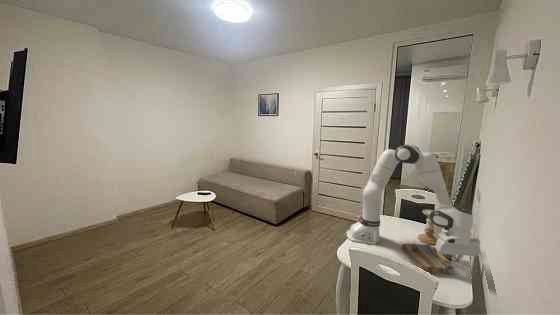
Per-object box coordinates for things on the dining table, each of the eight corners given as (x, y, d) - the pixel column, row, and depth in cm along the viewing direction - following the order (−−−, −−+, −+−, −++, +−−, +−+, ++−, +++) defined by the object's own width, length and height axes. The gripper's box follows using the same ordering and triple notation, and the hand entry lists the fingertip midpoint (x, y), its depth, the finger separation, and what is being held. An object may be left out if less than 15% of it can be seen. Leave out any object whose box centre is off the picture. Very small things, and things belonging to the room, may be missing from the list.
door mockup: (421, 273, 114) (422, 262, 113) (402, 249, 135) (402, 239, 134) (453, 275, 112) (455, 264, 111) (428, 250, 134) (429, 241, 133)
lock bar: (430, 252, 125) (430, 247, 125) (435, 252, 125) (436, 247, 124) (444, 266, 112) (445, 261, 112) (450, 266, 112) (451, 261, 112)
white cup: (442, 239, 148) (444, 225, 146) (428, 235, 152) (430, 222, 150) (441, 234, 154) (442, 221, 153) (428, 231, 158) (429, 218, 157)
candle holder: (443, 246, 139) (447, 217, 136) (422, 244, 141) (425, 215, 138) (433, 236, 151) (437, 209, 148) (414, 234, 153) (417, 208, 150)
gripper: (475, 235, 115) (471, 258, 118) (435, 233, 117) (432, 256, 120) (485, 241, 109) (481, 266, 111) (442, 239, 111) (439, 263, 113)
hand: (455, 261), depth 116 cm, fingers closed
